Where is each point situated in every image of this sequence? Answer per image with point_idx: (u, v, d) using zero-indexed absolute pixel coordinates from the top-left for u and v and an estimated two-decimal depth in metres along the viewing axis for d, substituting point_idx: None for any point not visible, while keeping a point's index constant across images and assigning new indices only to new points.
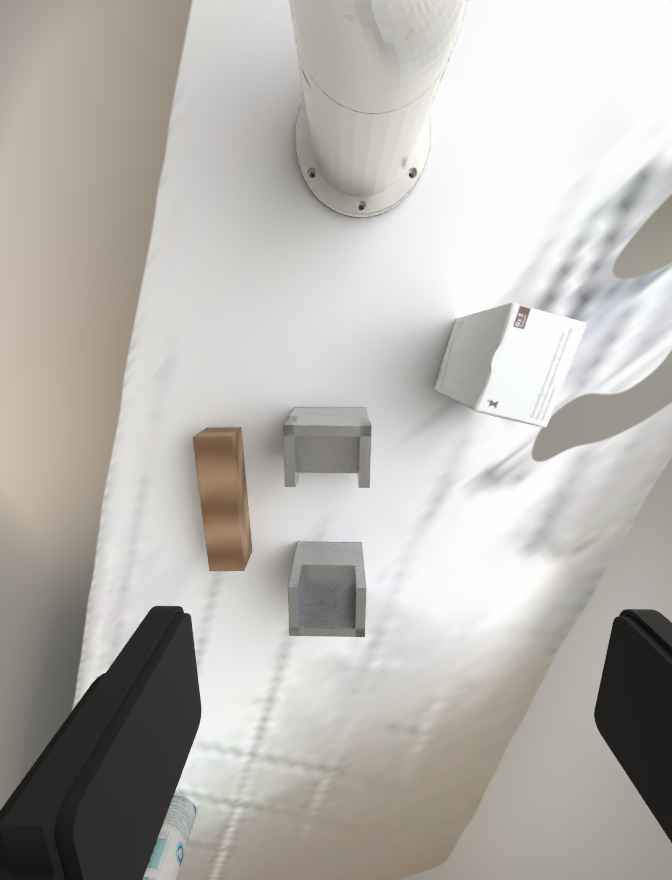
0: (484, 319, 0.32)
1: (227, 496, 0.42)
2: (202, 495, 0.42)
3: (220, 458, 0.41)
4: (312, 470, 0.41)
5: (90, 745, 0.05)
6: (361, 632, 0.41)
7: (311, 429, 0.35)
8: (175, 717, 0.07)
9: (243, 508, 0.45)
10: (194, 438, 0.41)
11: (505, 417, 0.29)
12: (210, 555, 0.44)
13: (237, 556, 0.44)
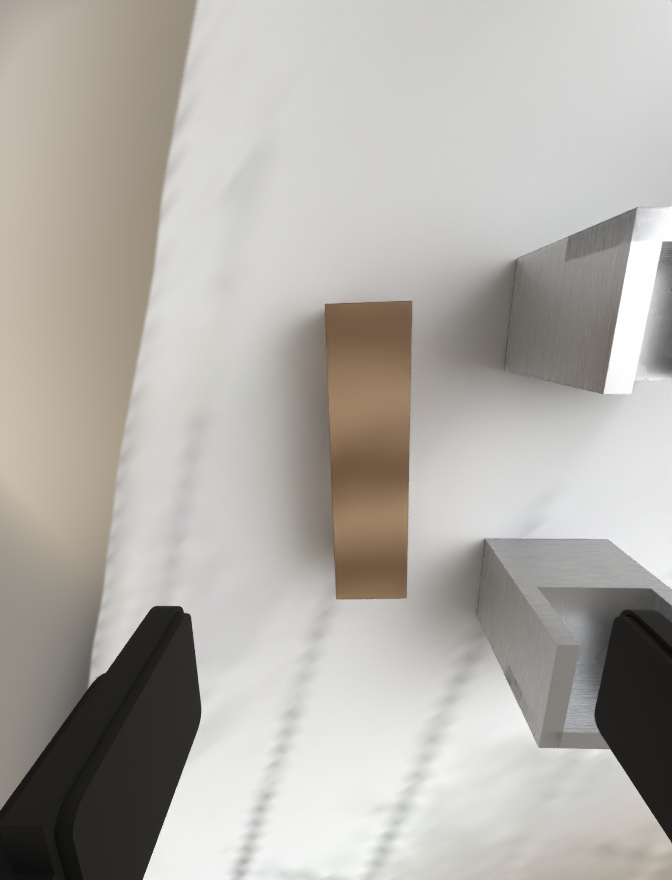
0: None
1: (389, 441, 0.20)
2: (335, 440, 0.20)
3: (381, 355, 0.18)
4: None
5: (90, 745, 0.05)
6: None
7: None
8: (175, 717, 0.07)
9: None
10: (328, 306, 0.18)
11: None
12: (340, 567, 0.22)
13: (396, 569, 0.22)
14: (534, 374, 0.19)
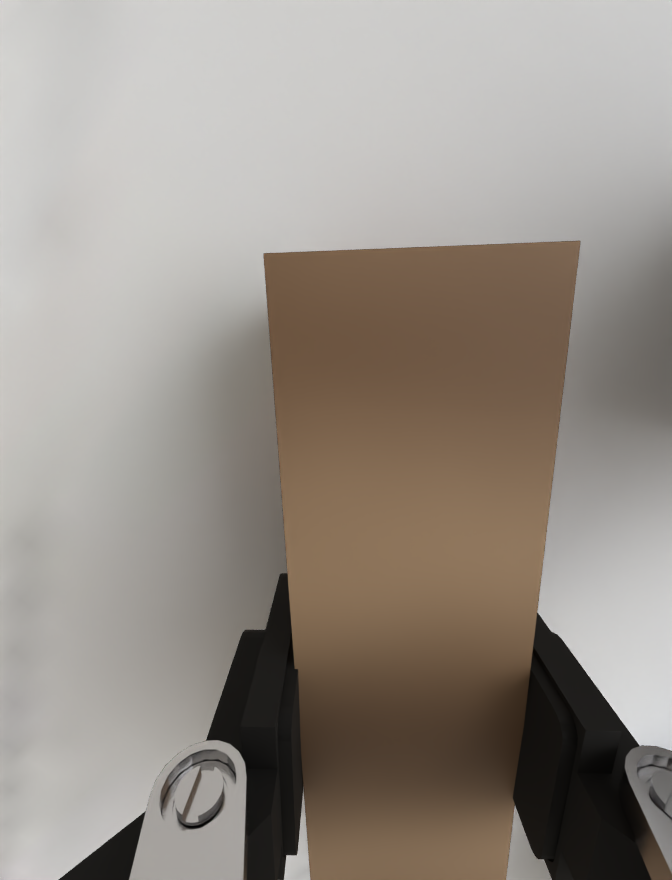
0: None
1: (470, 673, 0.07)
2: (309, 670, 0.07)
3: (459, 430, 0.06)
4: None
5: (281, 674, 0.06)
6: None
7: None
8: None
9: None
10: (274, 262, 0.05)
11: None
12: None
13: None
14: None
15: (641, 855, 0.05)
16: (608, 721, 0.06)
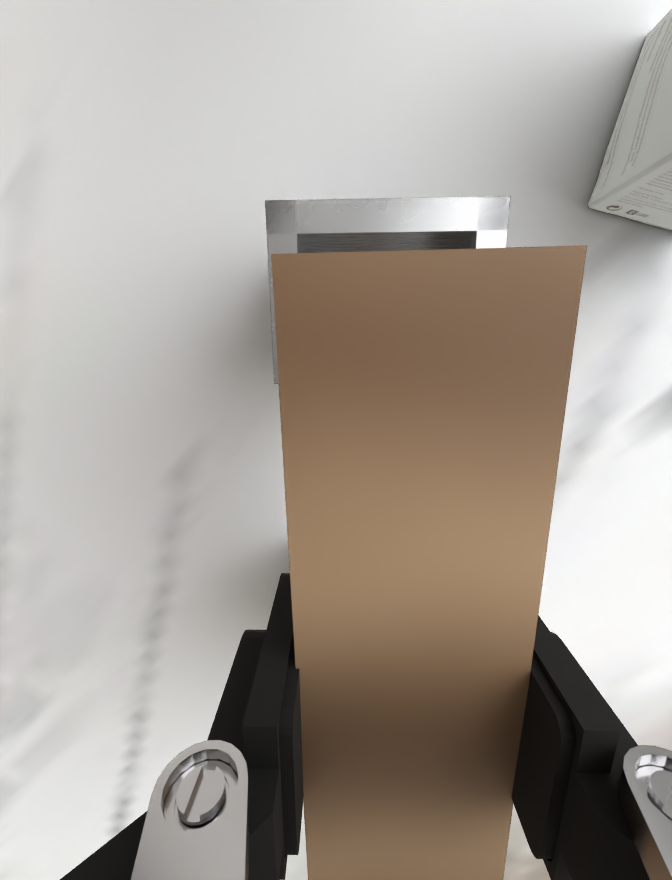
0: None
1: (470, 674, 0.07)
2: (310, 670, 0.07)
3: (464, 432, 0.06)
4: None
5: (282, 674, 0.06)
6: None
7: (343, 212, 0.13)
8: None
9: None
10: (282, 262, 0.05)
11: None
12: None
13: None
14: None
15: (639, 855, 0.05)
16: (606, 720, 0.06)
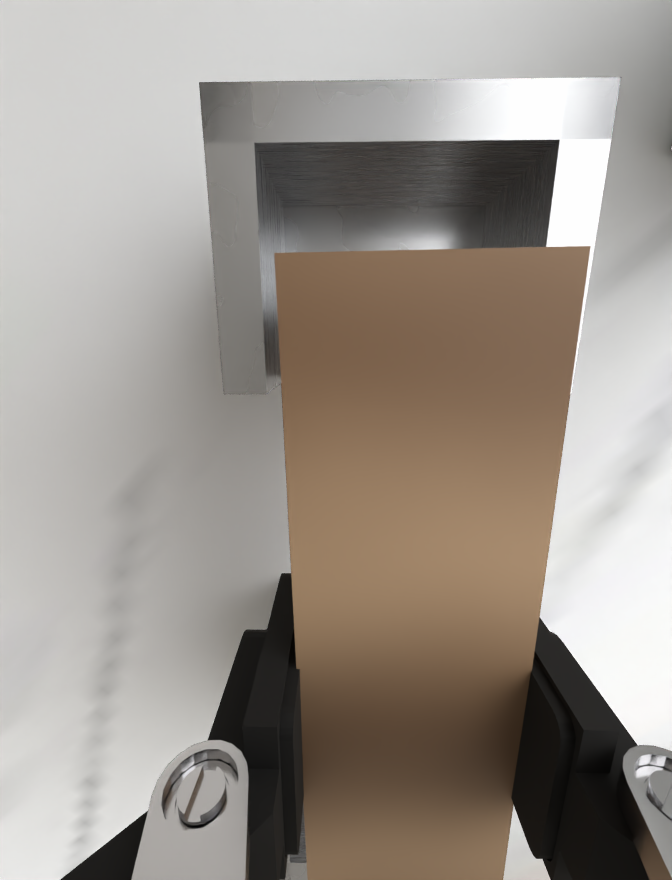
0: None
1: (471, 675, 0.07)
2: (311, 670, 0.07)
3: (466, 432, 0.06)
4: None
5: (283, 674, 0.06)
6: None
7: (333, 104, 0.07)
8: None
9: None
10: (285, 261, 0.05)
11: None
12: None
13: None
14: None
15: (638, 855, 0.05)
16: (606, 720, 0.06)
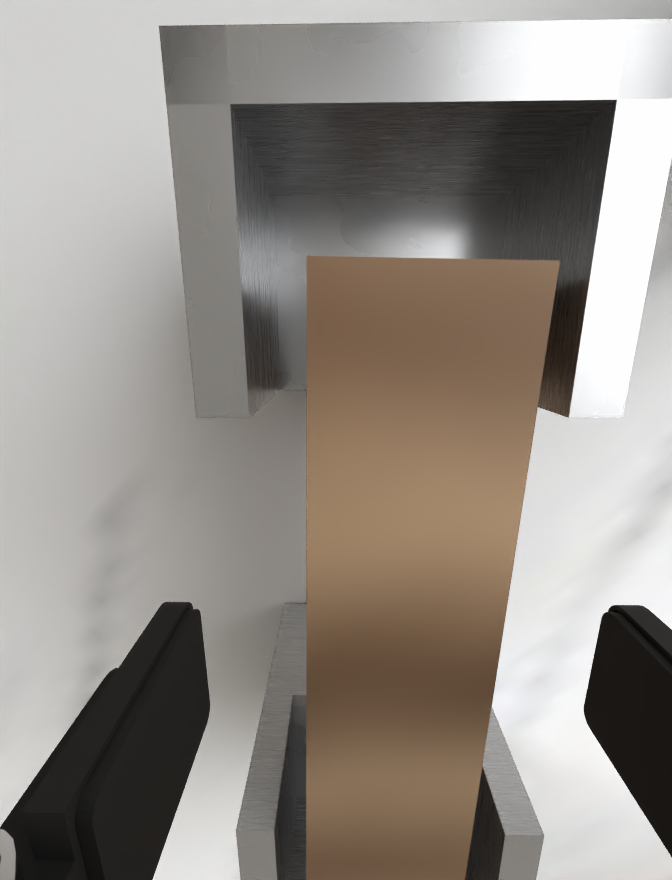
0: None
1: (454, 618, 0.08)
2: (319, 610, 0.08)
3: (456, 408, 0.07)
4: None
5: (107, 736, 0.05)
6: None
7: (330, 54, 0.06)
8: (186, 711, 0.08)
9: None
10: (315, 263, 0.06)
11: None
12: (317, 863, 0.10)
13: (442, 872, 0.10)
14: None
15: None
16: None
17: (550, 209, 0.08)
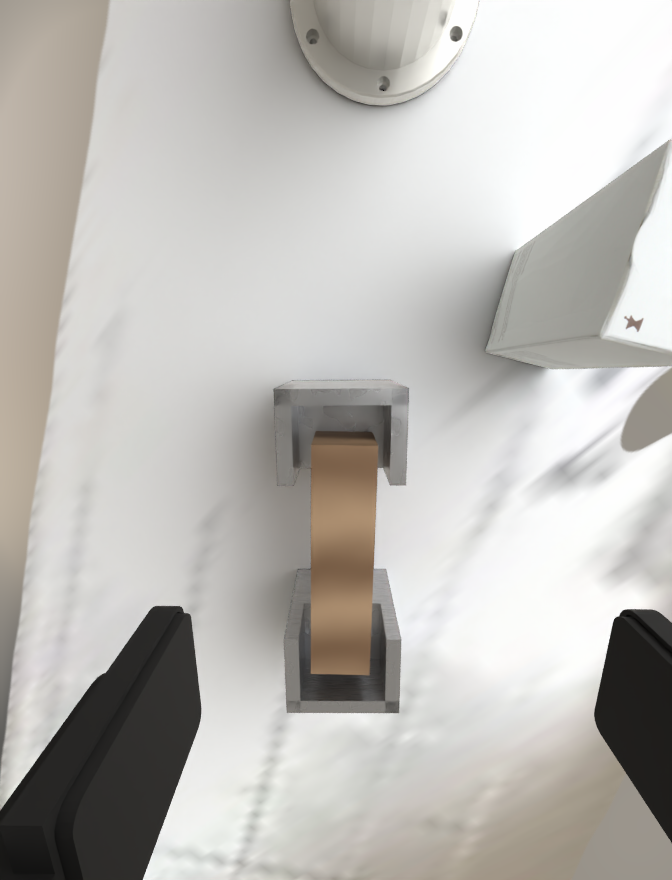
0: (589, 207, 0.20)
1: (358, 548, 0.24)
2: (315, 546, 0.24)
3: (353, 484, 0.24)
4: None
5: (90, 745, 0.05)
6: (394, 706, 0.28)
7: (317, 395, 0.23)
8: (175, 717, 0.07)
9: None
10: (313, 446, 0.23)
11: (653, 348, 0.17)
12: (315, 647, 0.26)
13: (361, 651, 0.26)
14: None
15: None
16: None
17: (387, 417, 0.25)
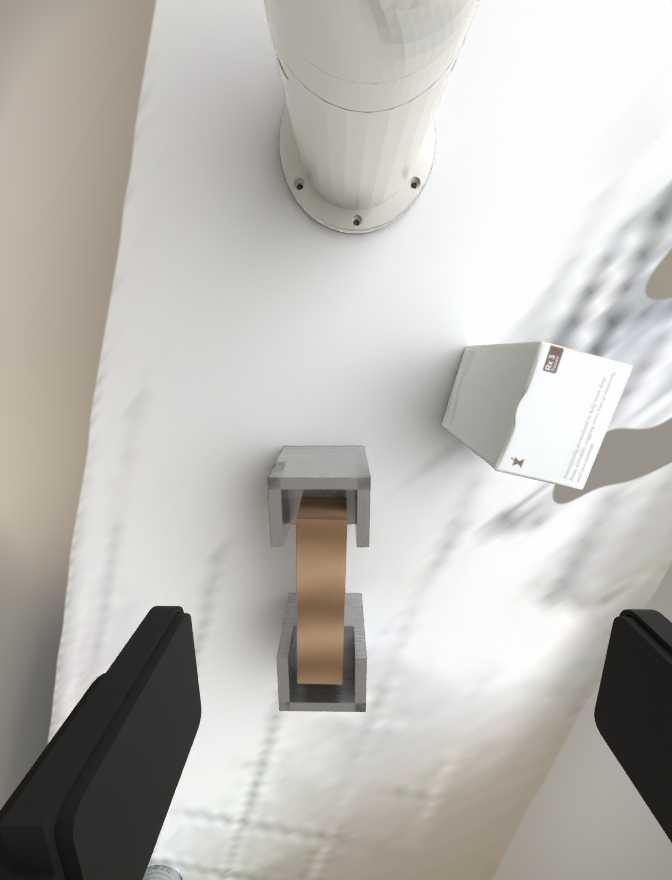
0: (503, 355, 0.27)
1: (332, 593, 0.32)
2: (299, 591, 0.32)
3: (328, 547, 0.31)
4: None
5: (90, 745, 0.05)
6: (361, 707, 0.36)
7: (300, 481, 0.30)
8: (175, 717, 0.07)
9: None
10: (297, 520, 0.31)
11: (532, 477, 0.24)
12: (300, 664, 0.34)
13: (336, 667, 0.34)
14: None
15: None
16: None
17: (356, 493, 0.32)
